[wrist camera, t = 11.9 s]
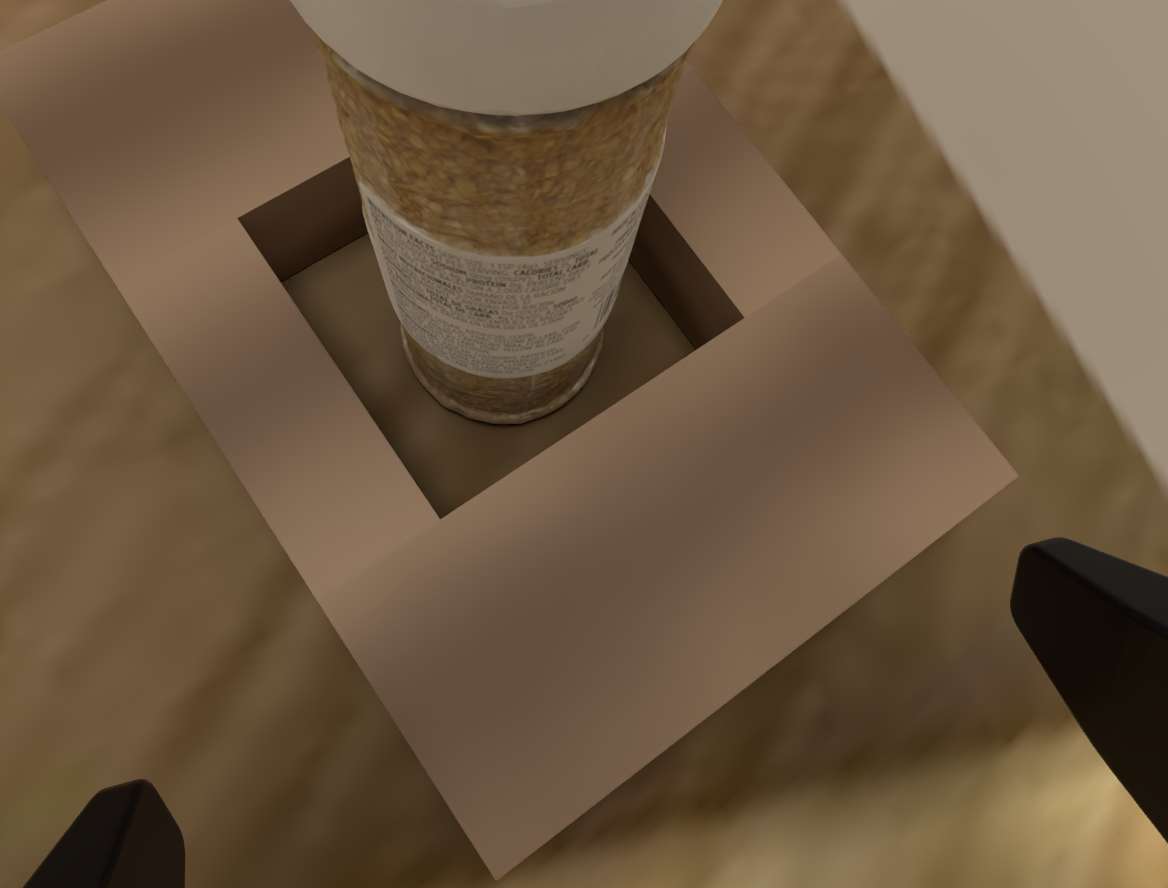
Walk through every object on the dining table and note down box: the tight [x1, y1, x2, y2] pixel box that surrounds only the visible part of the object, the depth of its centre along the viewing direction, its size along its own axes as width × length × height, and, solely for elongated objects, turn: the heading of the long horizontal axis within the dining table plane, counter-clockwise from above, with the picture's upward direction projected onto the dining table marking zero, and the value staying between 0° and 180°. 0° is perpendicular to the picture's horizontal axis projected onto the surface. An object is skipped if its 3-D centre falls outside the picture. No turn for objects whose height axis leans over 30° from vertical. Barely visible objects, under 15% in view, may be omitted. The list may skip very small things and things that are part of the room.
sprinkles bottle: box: [290, 0, 723, 424], centre depth 13 cm, size 5×5×13 cm
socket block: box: [0, 0, 1019, 881], centre depth 18 cm, size 18×12×3 cm, turn 35°
